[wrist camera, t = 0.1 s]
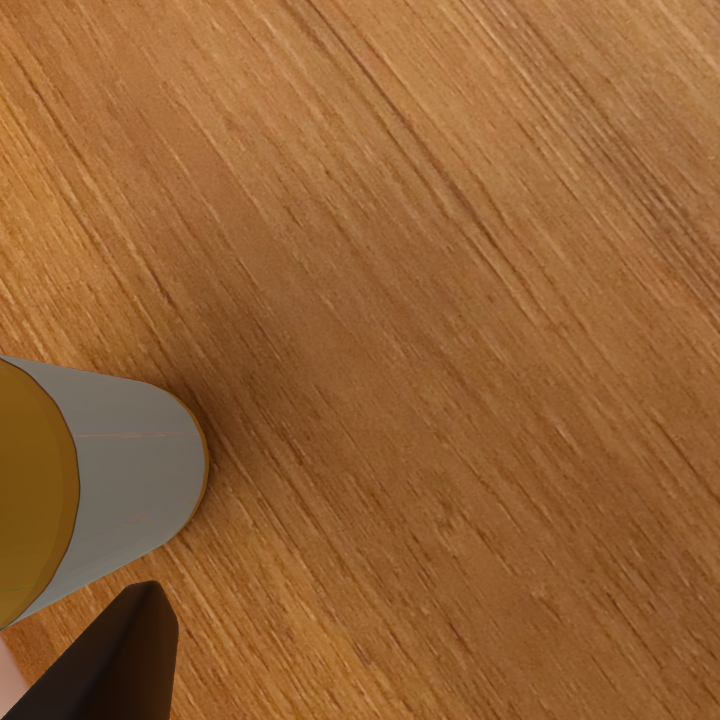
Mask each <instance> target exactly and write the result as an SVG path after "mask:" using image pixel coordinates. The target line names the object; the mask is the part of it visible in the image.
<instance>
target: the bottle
mask: <svg viewBox="0 0 720 720" xmlns="http://www.w3.org/2000/svg"><path fill="white" fill-rule="evenodd" d="M208 473H209V456H208V449H207V442H206V439H205V435H204V433H203V431H202V429H201V427H200V425H199V423H198V421H197V419H196V417H195V416H194V414H193V413H192V411H191V410H190V409H189V408H188V407H187V406H186V405H185V404H184V403H183V402H182V401H181V400H180V399H179V398H178V397H176V396H175V395H173V394H172V393H170V392H168V391H166V390H164V389H162V388H160V387H158V386H155V385H152V384H149V383H145V382H142V381H137V380H131V379H126V378H121V377H116V376H110V375H105V374H100V373H94V372H89V371H84V370H79V369H73V368H68V367H63V366H58V365H52V364H47V363H42V362H37V361H31V360H26V359H21V358H16V357H10V356H5V355H0V631H1V630H3V629H5V628H7V627H9V626H10V625H12V624H14V623H16V622H18V621H20V620H22V619H24V618H26V617H28V616H29V615H31V614H33V613H35V612H37V611H39V610H41V609H43V608H45V607H46V606H48V605H50V604H52V603H54V602H56V601H58V600H60V599H62V598H64V597H65V596H67V595H69V594H71V593H73V592H75V591H77V590H79V589H81V588H82V587H84V586H86V585H88V584H90V583H92V582H94V581H96V580H98V579H100V578H101V577H103V576H105V575H107V574H109V573H111V572H113V571H115V570H117V569H118V568H120V567H122V566H124V565H126V564H128V563H130V562H132V561H134V560H136V559H137V558H139V557H141V556H143V555H145V554H147V553H149V552H150V551H152V550H154V549H156V548H158V547H160V546H161V545H163V544H165V543H166V542H168V541H169V540H171V539H172V538H173V537H175V536H176V535H177V534H178V533H179V532H180V531H181V530H182V529H183V528H184V527H185V525H186V524H187V523H188V522H189V521H190V520H191V519H192V517H193V516H194V514H195V512H196V510H197V508H198V506H199V504H200V502H201V500H202V498H203V496H204V493H205V490H206V485H207V479H208Z"/></svg>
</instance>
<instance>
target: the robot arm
mask: <svg viewBox="0 0 720 720" xmlns="http://www.w3.org/2000/svg"><path fill="white" fill-rule="evenodd" d="M178 635H179V626H178V620H177V617H176V615H175V613H174V611H173V609H172V607H171V605H170V603H169V600H168V598H167V596H166V594H165V592H164V590H163V588H162V587H161V585H160V584H159V583H158V582H157V581H153V580H151V581H146V582H141V583H136V584H131V585H129V586H127V587H126V588H125V589H124V590H122V592H121V593H120V594H119V595H118V596H117V597H116V598H115V599H114V600H113V601H112V602H111V603H110V604H109V605H108V606H107V607H106V608H105V610H104V611H103V612H102V613H101V614H100V615H99V616H98V617H97V618H96V619H95V620H94V621H93V622H92V623H91V624H90V625H89V627H88V628H87V629H86V630H85V631H84V632H83V633H82V634H81V635H80V636H79V637H78V638H77V639H76V640H75V641H74V642H73V643H72V645H71V646H70V647H69V648H68V649H67V650H66V651H65V652H64V653H63V654H62V655H61V656H60V657H59V658H58V659H57V660H56V662H55V663H54V664H53V665H52V666H51V667H50V668H49V669H48V670H47V671H46V672H45V673H44V674H43V675H42V676H41V677H40V678H39V680H38V681H37V682H36V683H35V684H34V685H33V686H32V687H31V688H30V689H29V690H28V691H27V692H26V693H25V694H24V695H23V697H22V698H21V699H20V700H19V701H18V702H17V703H16V704H15V705H14V706H13V707H12V708H11V709H10V710H9V711H8V712H7V714H6V715H5V716H4V717H3V718H2V719H1V720H169V719H170V709H171V700H172V691H173V682H174V672H175V663H176V654H177V645H178Z"/></svg>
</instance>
